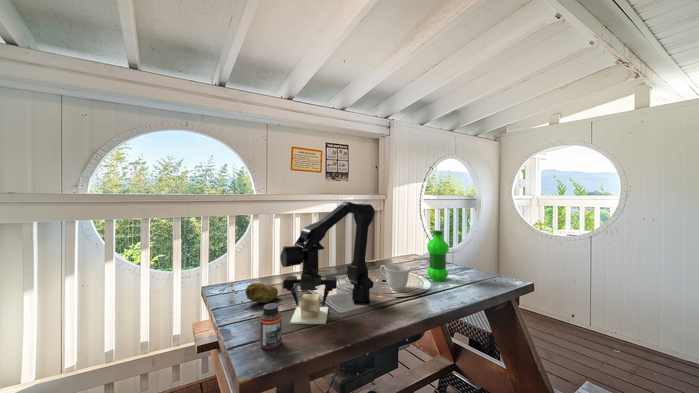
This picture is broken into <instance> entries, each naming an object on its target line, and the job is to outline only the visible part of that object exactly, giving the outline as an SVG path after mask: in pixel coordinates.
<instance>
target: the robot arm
mask: <svg viewBox="0 0 699 393" xmlns="http://www.w3.org/2000/svg"><path fill="white" fill-rule="evenodd" d="M348 214H353V219H354V222H355V226H356V228H355V239H354V249H353V257H352V258H353V259H352V261H351V263H349V264H347V267H346V268H347V269H346V272H345V275H346V276H347V279H348V280H349V281H350V284H351V285H353V288H351V289H352V290H351V291H352V292H351V294H352V297H351V298H352V299H351V300H352V301H353V304H354V305H371V301H370V291H371V290H370V289H373V287H374V284H375V283H374V281H373V280H372V279H371V278H370V277H369V269H368V265H367V263H366V257H367V248H368V247H367V246H368V236H369V226H370V225H371V223H372V222H373V219H374V215H375V208H374V207H373V205H371V204H369V203H354V202H351V201H343V202H341V203H340V205H338V206H337V207H336V208H334V209H333V210H332V211H331V212H329V213H328V214H326V215H325V216H324V217H323V218H321V219H320V220H319V221H316V222H314V223H311V224H309V225H307V226H305V227H303V228H302V230H300V236H299V237H298V238H297V240H296V241H295V243H294V245H290V246H288V245H285V246H282V250H281V253H280V255H279V256H280V264H281V266H282V268H289V267H294V266H300V265H301V264H302V271H301V275H300V278H298V277H297V275H288V276H287V275H286V277H285V278H284V280H283V281H282V289H284V290H286V291H287V292H290V293H291V294H292V298H293V299H294V301H295V305H296V307H299V304H300V301H299V300H300V298H299V286H300V291H304V292H305V291H310V292H314V291H315V290H316V287H318V286H319V287H320V286H324V289H323V297H322V307H325V304H326V301H327V297H328V295H329V293H330V292H333V291H334V290H336V289H337V288H338V286H337V285H338V277H337V276H336V275H334V276H332V275H330V276H328V275H326V277H325V278H324V279H323V278H322V275H321V274H320V273H319V269H320V267H319V262H320V258H319V256H320V254H319V252H320V250H325V247H324V246H323V245H322V244H321V241H322V240H323V239H324V238H325V237H326V234H327V232H328V231H329V230H330V229H331V228H333V227H334V226H335V225H336V224H338V223H339V222H340V221H341V220H342V219H343V218H345V217H346V216H347V215H348Z"/></svg>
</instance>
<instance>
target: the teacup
mask: <svg viewBox="0 0 699 393" xmlns="http://www.w3.org/2000/svg"><path fill="white" fill-rule="evenodd" d="M383 268H384V271H385V272H384V271H383ZM411 270H412V268H411V267H410V266H409V265H406V264H401V263H389V264H386V265H384V264H382V265H380V267H379V271H380V273H381V275H383V276H385V277H386V280H387V284H388V285H389V287H390V289H391V290H392V289H393V290H392V291H394V290H398V291H397V292H401V291H400V290H402V291H403V290H404V288H405V287H406V286H407V284H408V283H409V282H408V281H409V276H410V271H411Z"/></svg>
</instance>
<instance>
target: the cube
mask: <svg viewBox="0 0 699 393" xmlns="http://www.w3.org/2000/svg"><path fill="white" fill-rule="evenodd" d="M320 297H321V294H319V293H318V294H313V293H312V294H311V293H309V294H307V293H305V294H302V297H301V298H300V307H301V318H318V315H319V311H320V307H321V303H320V302H321V300H320Z"/></svg>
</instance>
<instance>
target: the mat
mask: <svg viewBox="0 0 699 393" xmlns="http://www.w3.org/2000/svg"><path fill="white" fill-rule="evenodd" d="M328 314H329V307H328V306H324V307H323V306H320V311H319V315H318V318H301V306H296V308H295V310H294V313H293V315H292V317H291V320H290V322H289V324H291V325H297V324H298V325H299V324H300V325H326V324H327V320H328Z"/></svg>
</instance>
